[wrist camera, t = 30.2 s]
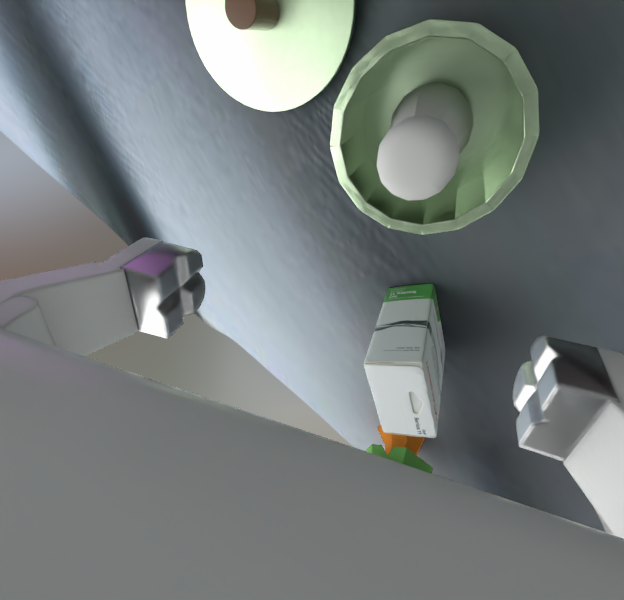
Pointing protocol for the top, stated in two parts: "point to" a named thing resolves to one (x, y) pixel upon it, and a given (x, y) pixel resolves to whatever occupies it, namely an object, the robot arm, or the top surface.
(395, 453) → the decorative tree
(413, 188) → the salt shaker
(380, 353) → the ink box
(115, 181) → the top surface
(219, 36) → the lid
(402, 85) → the bowl
